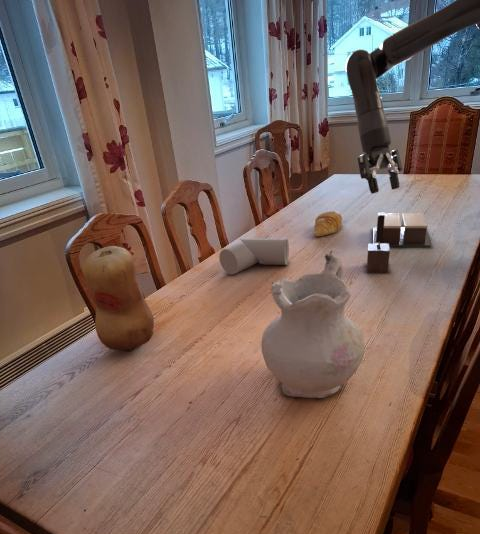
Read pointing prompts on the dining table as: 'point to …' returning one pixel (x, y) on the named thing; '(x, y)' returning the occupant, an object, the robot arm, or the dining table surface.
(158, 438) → the dining table surface
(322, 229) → the croissant
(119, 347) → the butternut squash
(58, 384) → the dining table surface
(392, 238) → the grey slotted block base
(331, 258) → the ceramic pitcher
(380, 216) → the knife
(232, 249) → the bent grey cylinder
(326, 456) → the dining table surface
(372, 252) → the knife block
